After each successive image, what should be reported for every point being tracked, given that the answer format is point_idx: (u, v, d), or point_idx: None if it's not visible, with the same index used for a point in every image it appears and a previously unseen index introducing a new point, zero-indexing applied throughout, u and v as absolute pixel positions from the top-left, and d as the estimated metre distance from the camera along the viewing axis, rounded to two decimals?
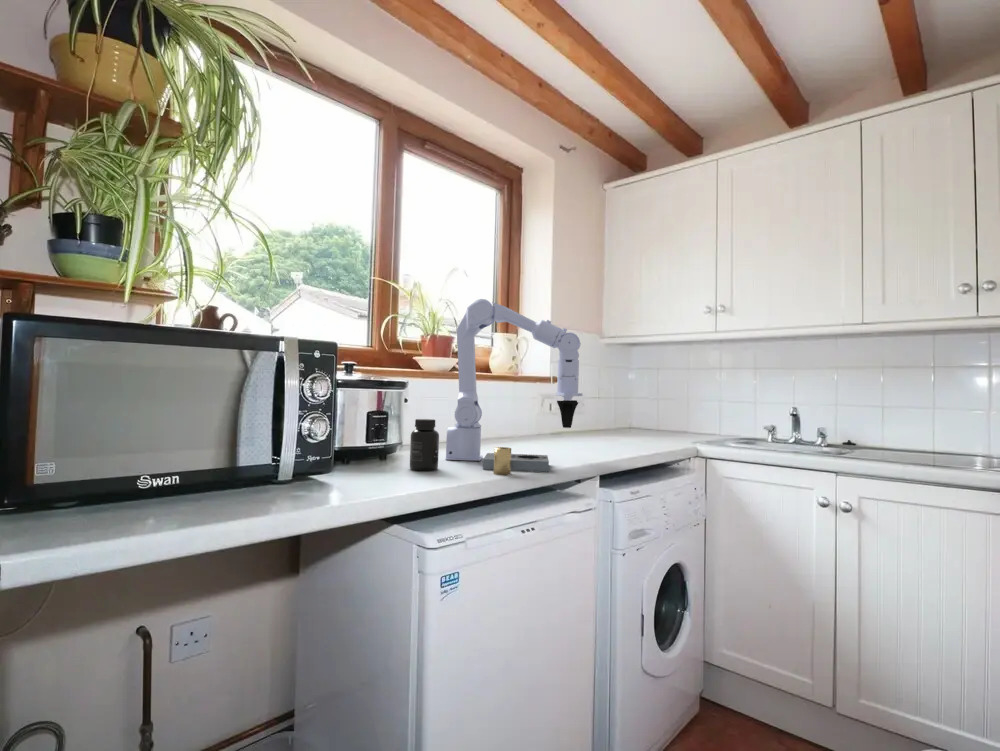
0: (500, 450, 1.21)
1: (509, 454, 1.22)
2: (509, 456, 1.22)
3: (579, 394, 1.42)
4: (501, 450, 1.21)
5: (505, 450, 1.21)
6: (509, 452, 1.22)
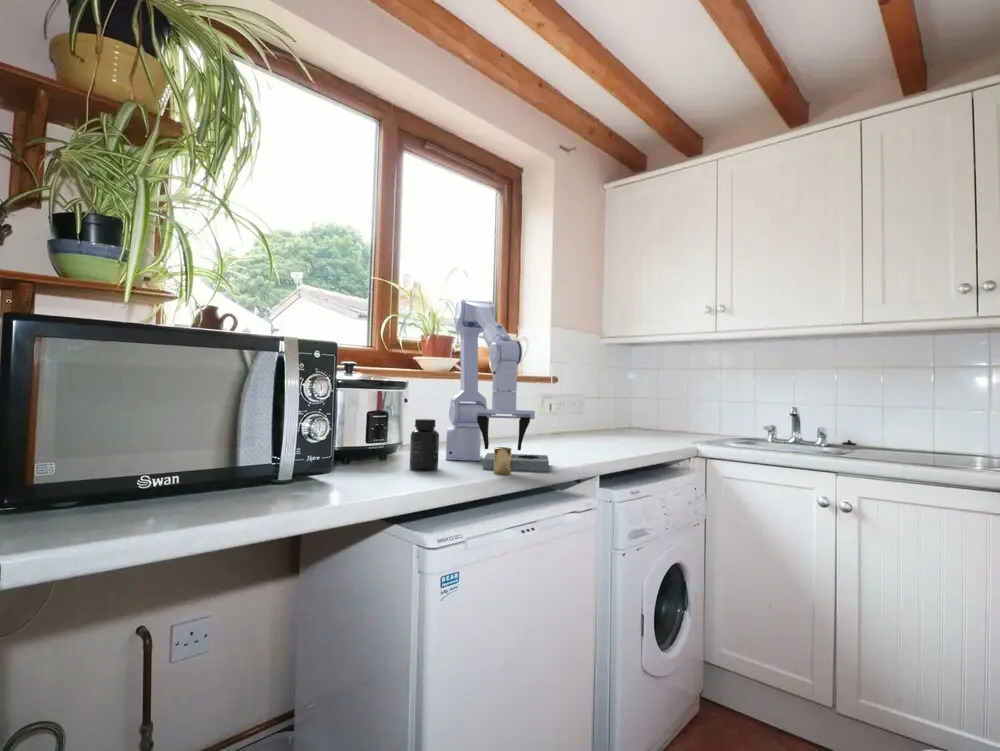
0: (500, 450, 1.21)
1: (509, 454, 1.22)
2: (509, 456, 1.22)
3: (498, 411, 1.20)
4: (501, 450, 1.21)
5: (505, 450, 1.21)
6: (509, 452, 1.22)
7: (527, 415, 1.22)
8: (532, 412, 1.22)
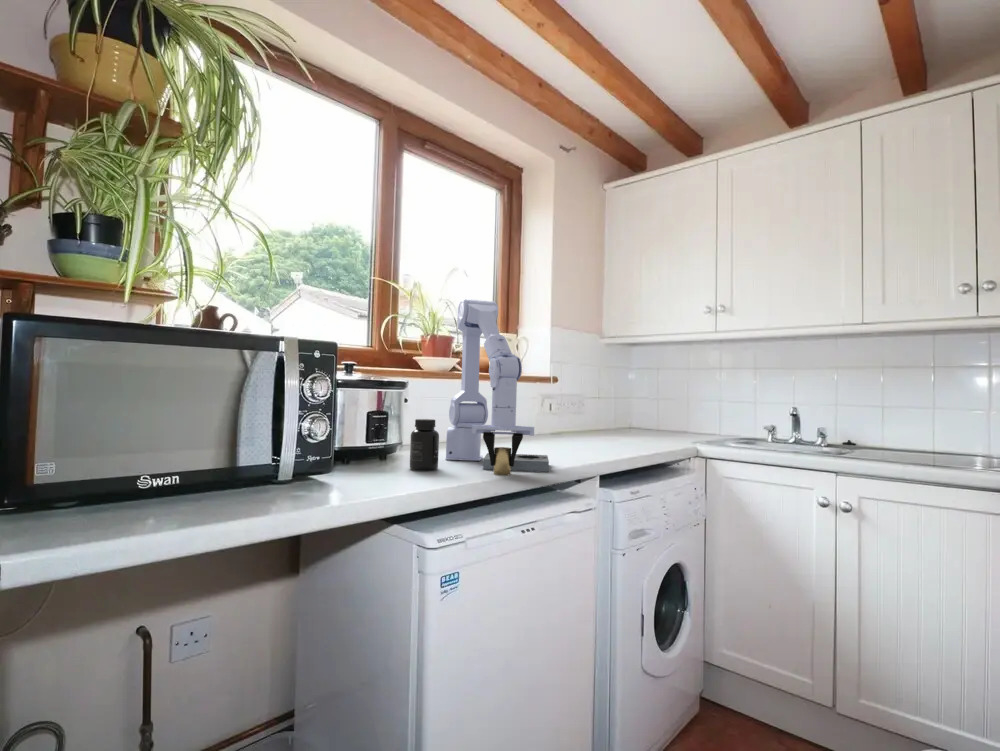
0: (500, 450, 1.21)
1: (509, 454, 1.22)
2: (509, 456, 1.22)
3: (497, 428, 1.20)
4: (501, 450, 1.21)
5: (505, 450, 1.21)
6: (509, 452, 1.22)
7: (526, 431, 1.22)
8: (531, 428, 1.21)
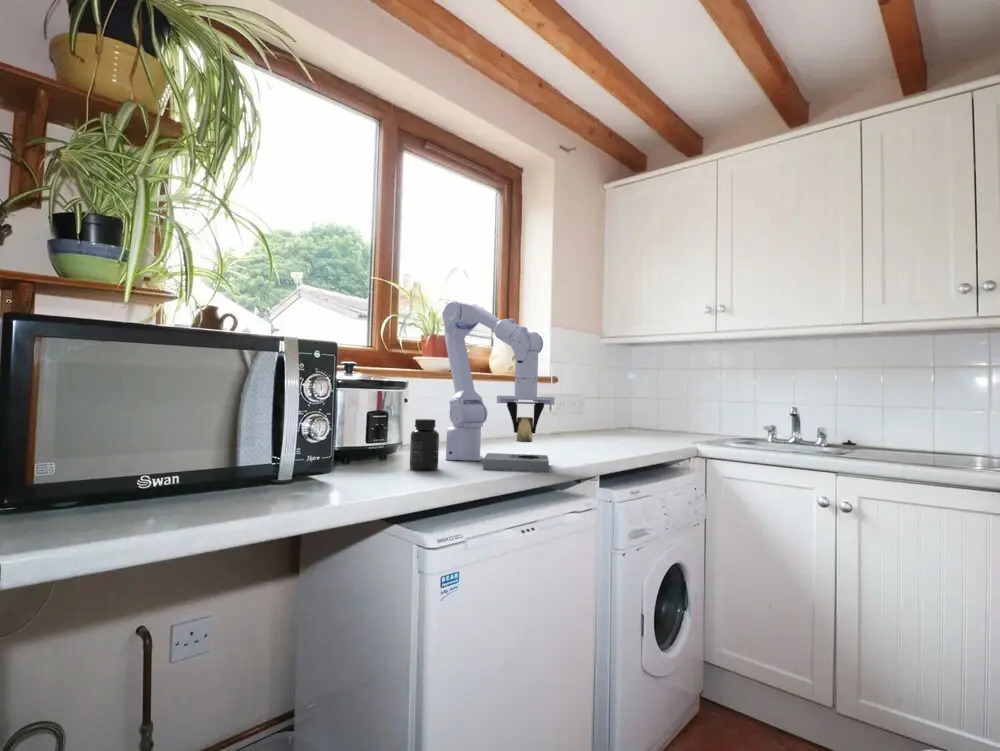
0: (522, 419, 1.30)
1: (530, 423, 1.31)
2: (530, 425, 1.31)
3: (520, 397, 1.30)
4: (523, 419, 1.30)
5: (527, 419, 1.30)
6: (530, 421, 1.31)
7: (547, 401, 1.32)
8: (552, 398, 1.31)
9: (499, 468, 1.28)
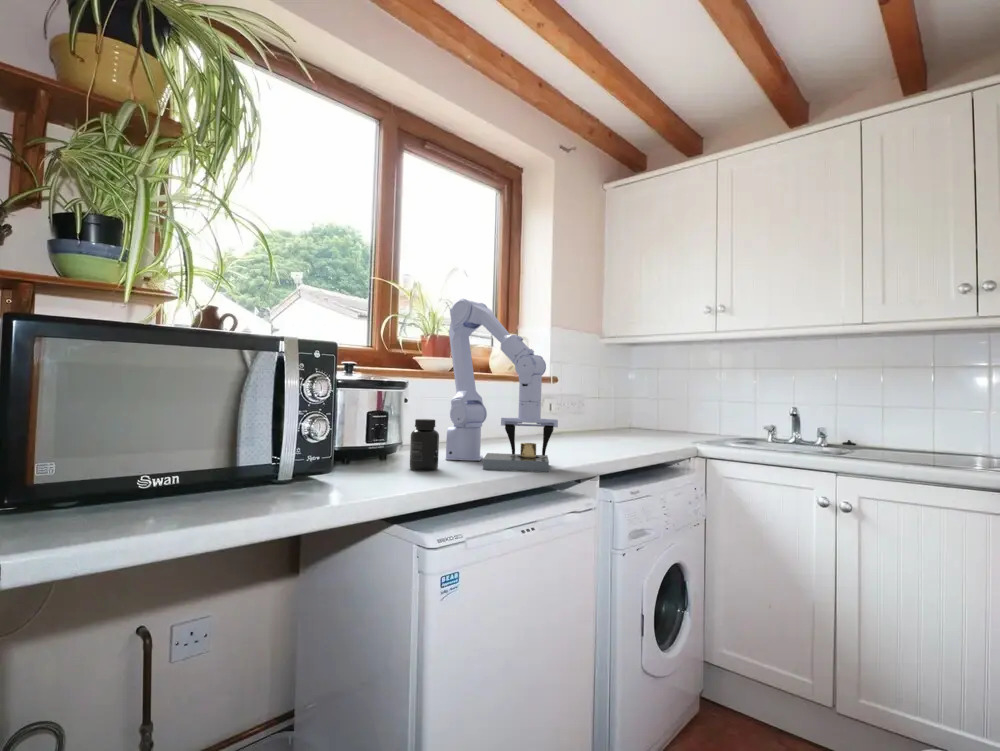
0: (525, 445, 1.32)
1: (534, 449, 1.33)
2: (534, 451, 1.33)
3: (524, 420, 1.31)
4: (526, 445, 1.32)
5: (530, 445, 1.32)
6: (534, 447, 1.33)
7: (551, 423, 1.34)
8: (555, 421, 1.33)
9: (499, 468, 1.28)
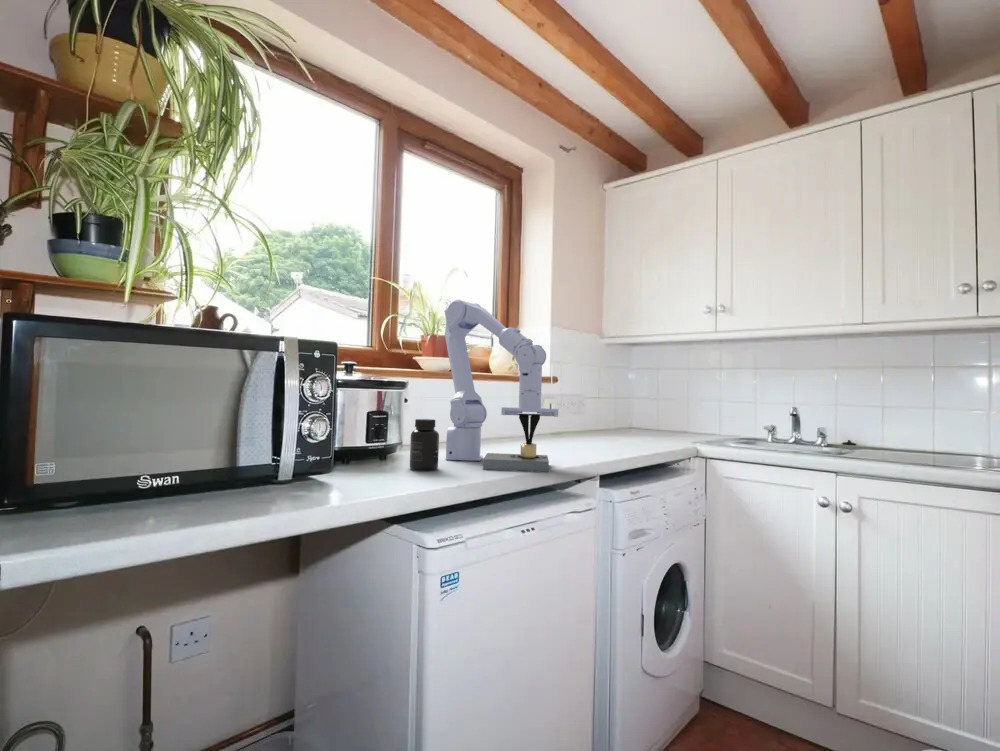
0: (526, 446, 1.32)
1: (534, 449, 1.33)
2: (534, 451, 1.33)
3: (525, 409, 1.32)
4: (526, 446, 1.32)
5: (530, 446, 1.32)
6: (534, 447, 1.33)
7: (551, 413, 1.34)
8: (556, 410, 1.33)
9: (499, 468, 1.28)
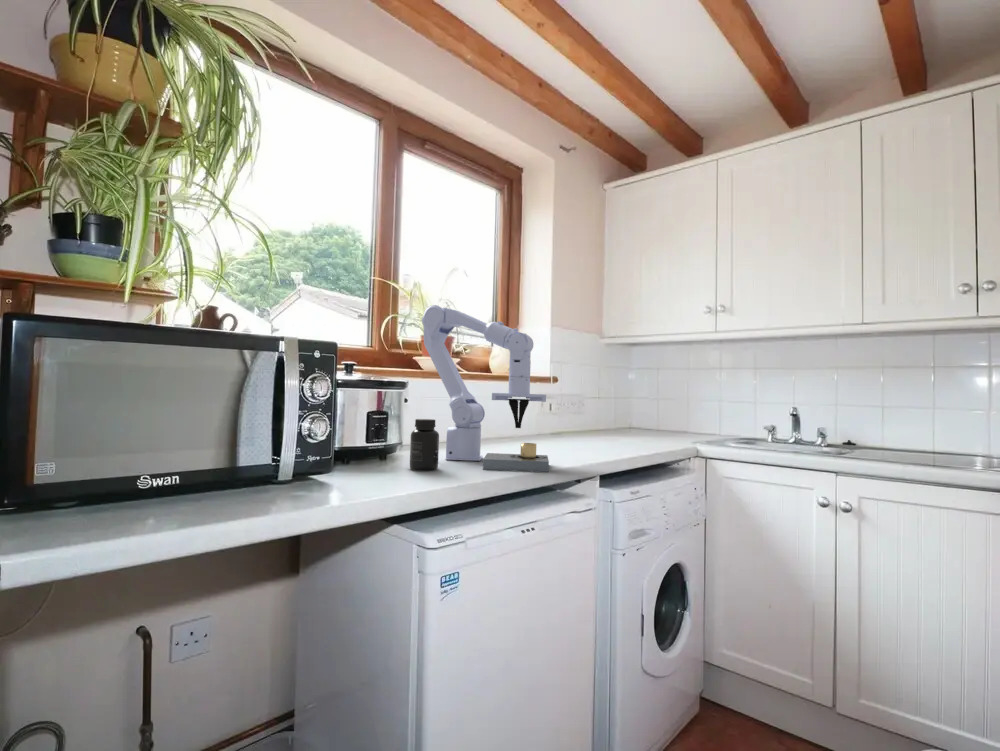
0: (526, 445, 1.32)
1: (534, 449, 1.33)
2: (534, 451, 1.33)
3: (514, 394, 1.38)
4: (526, 445, 1.32)
5: (530, 445, 1.32)
6: (534, 447, 1.33)
7: (539, 398, 1.40)
8: (544, 395, 1.39)
9: (499, 468, 1.28)
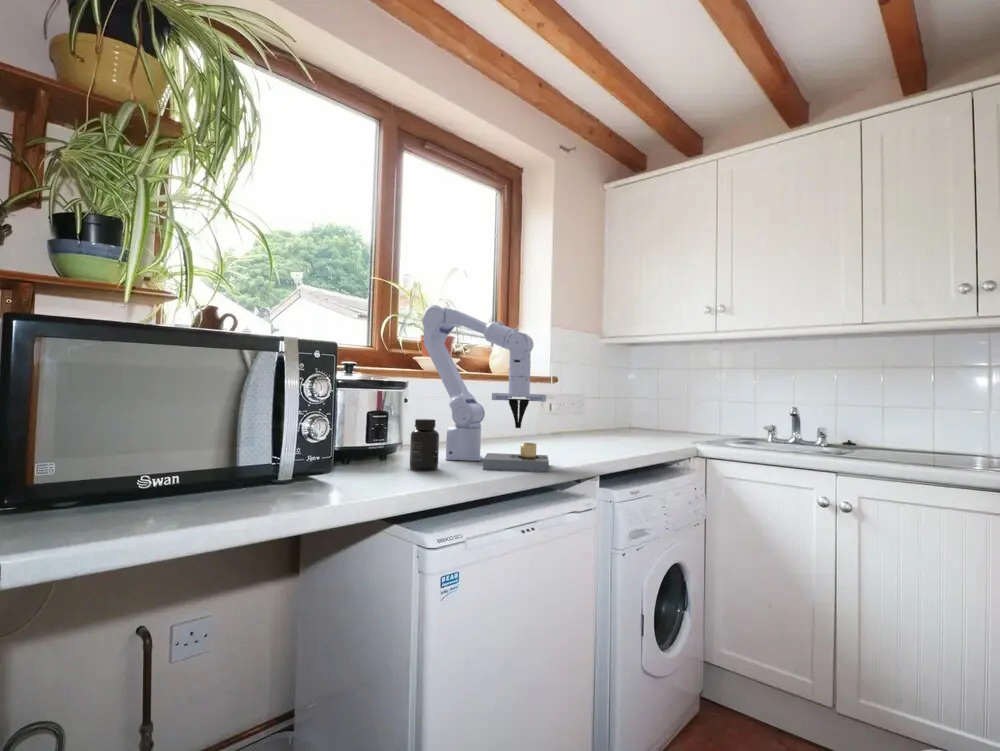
0: (526, 445, 1.32)
1: (534, 449, 1.33)
2: (534, 451, 1.33)
3: (514, 394, 1.38)
4: (526, 445, 1.32)
5: (530, 445, 1.32)
6: (534, 447, 1.33)
7: (539, 398, 1.40)
8: (544, 395, 1.39)
9: (499, 468, 1.28)
